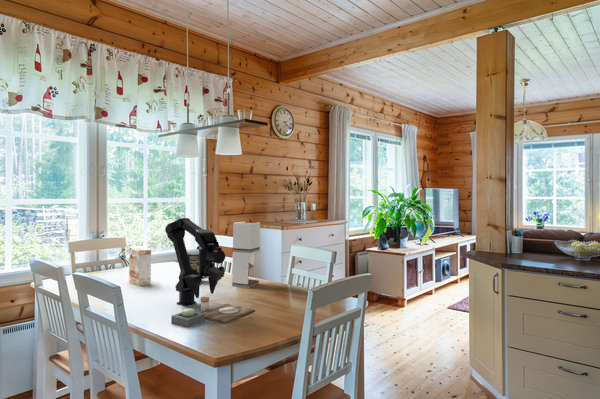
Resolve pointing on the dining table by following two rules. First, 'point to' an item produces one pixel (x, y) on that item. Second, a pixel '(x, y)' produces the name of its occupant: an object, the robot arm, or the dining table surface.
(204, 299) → the mushroom
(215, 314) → the colouring board
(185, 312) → the button
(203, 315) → the button housing
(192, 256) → the coffee box
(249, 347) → the dining table surface
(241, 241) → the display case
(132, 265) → the coffeecake box
